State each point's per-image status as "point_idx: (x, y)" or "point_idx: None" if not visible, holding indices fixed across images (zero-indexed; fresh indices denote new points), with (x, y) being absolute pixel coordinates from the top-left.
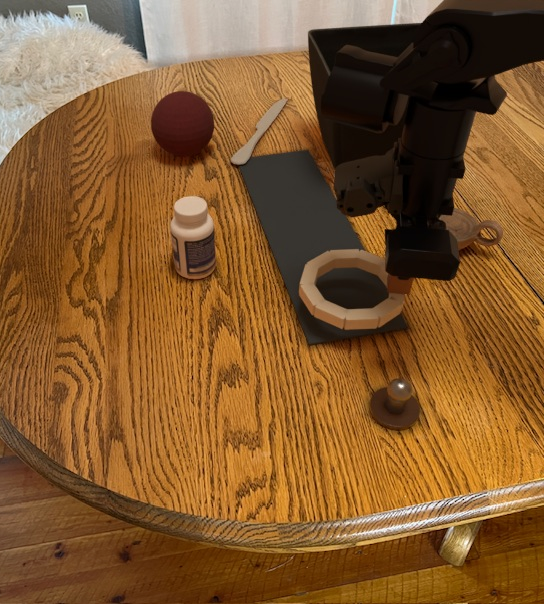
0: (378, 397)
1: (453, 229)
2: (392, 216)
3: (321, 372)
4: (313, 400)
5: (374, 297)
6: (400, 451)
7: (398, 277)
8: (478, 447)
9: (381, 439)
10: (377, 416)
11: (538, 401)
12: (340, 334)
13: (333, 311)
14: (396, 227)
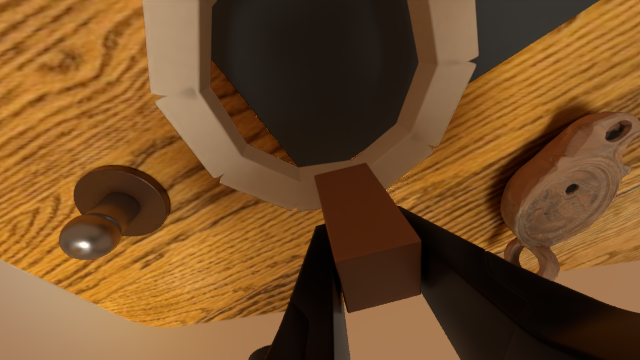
0: (118, 180)
1: (549, 210)
2: (582, 355)
3: (109, 56)
4: (21, 61)
5: (367, 111)
6: (59, 224)
7: (314, 232)
8: (147, 289)
9: (54, 198)
10: (78, 188)
11: (255, 315)
12: (234, 69)
13: (159, 50)
14: (494, 300)
